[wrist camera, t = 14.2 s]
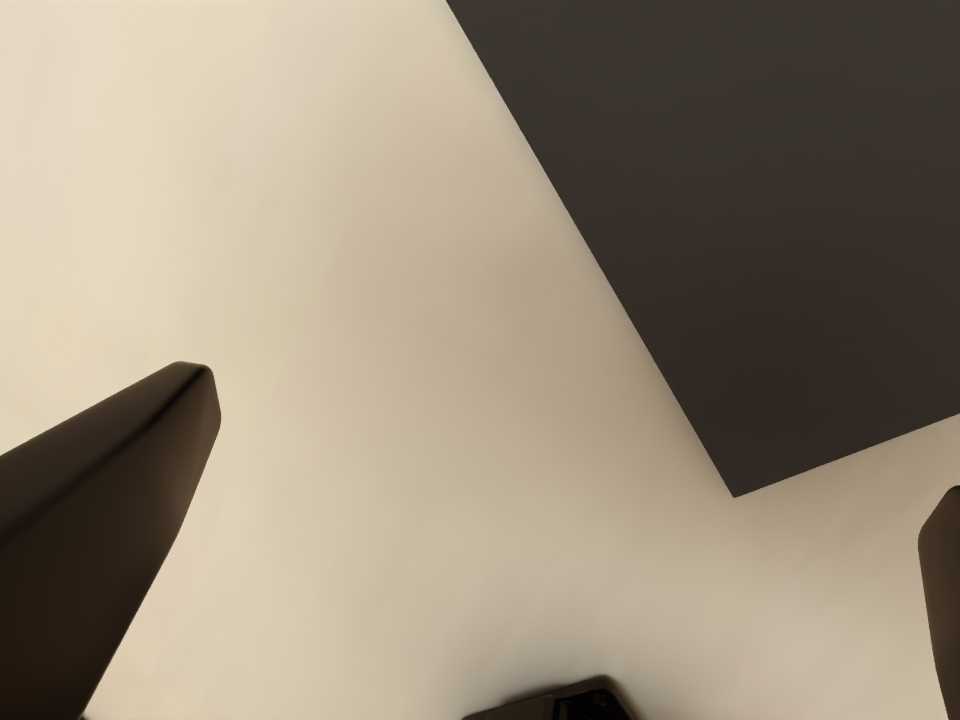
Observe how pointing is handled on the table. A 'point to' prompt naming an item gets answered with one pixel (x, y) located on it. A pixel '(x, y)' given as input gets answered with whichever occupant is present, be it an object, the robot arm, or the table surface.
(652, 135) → the mat
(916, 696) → the table surface
